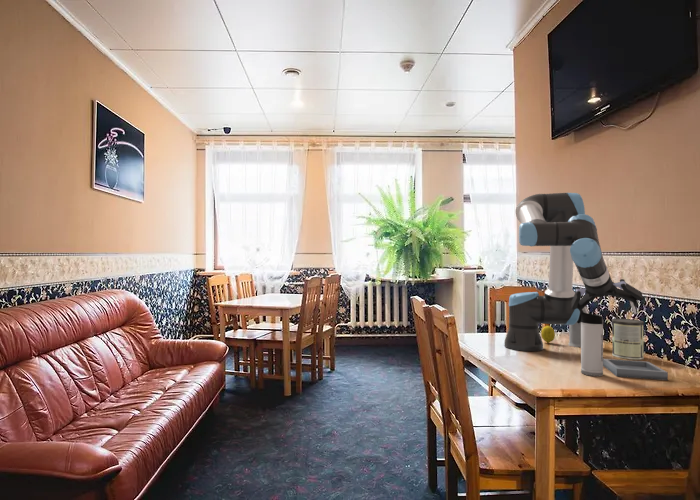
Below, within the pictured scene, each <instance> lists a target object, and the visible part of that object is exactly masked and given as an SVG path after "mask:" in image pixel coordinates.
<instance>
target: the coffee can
mask: <svg viewBox="0 0 700 500" xmlns="http://www.w3.org/2000/svg"><path fill="white" fill-rule="evenodd" d="M611 322H612V323H611V325H612V332H611V333H612V334H611V335H612V354H611V355H612V357H615V358H618V359H622V360H630V361H642V360H645V359H644V356H645V355H644V351H645V350H644V323H645V322H644V321H643V320H640V319H632V318H612V319H611Z"/></svg>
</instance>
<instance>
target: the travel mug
mask: <svg viewBox="0 0 700 500" xmlns="http://www.w3.org/2000/svg"><path fill="white" fill-rule="evenodd" d="M580 315H581V319H582V320H581V348H580V373H581V374H583V375H586V376H590V377H603V376H604V366H603V359H604V316H603V315H601V316H599V315H600V314H598V315H597V314H594V313H589V314H588V313H583V312H580ZM602 321H603V322H602ZM602 325H603V326H602Z"/></svg>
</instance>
